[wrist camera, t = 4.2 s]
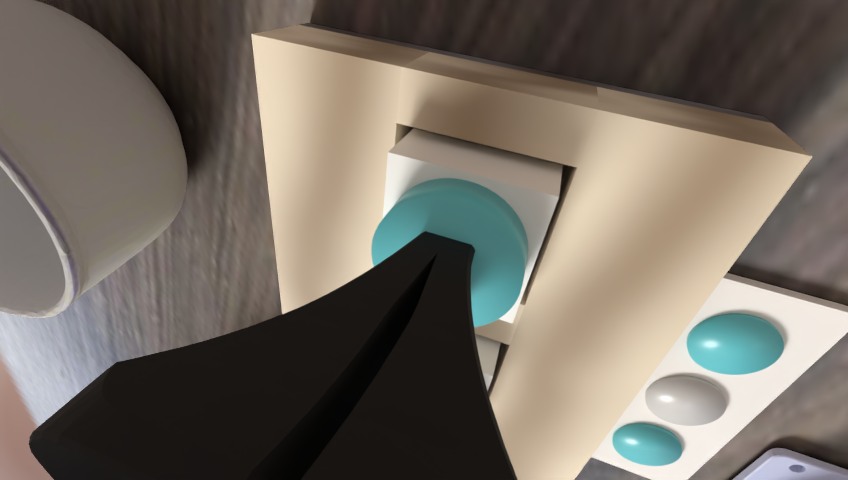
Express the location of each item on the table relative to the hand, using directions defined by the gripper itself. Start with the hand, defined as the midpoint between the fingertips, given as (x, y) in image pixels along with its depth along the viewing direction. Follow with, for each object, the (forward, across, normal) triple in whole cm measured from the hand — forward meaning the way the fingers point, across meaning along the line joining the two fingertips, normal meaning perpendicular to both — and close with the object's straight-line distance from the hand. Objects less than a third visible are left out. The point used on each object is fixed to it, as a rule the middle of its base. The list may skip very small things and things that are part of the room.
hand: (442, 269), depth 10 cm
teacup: (+6, +18, +3) cm, 19 cm away
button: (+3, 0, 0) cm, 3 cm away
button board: (+6, 0, +7) cm, 9 cm away
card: (+6, -10, +7) cm, 13 cm away
